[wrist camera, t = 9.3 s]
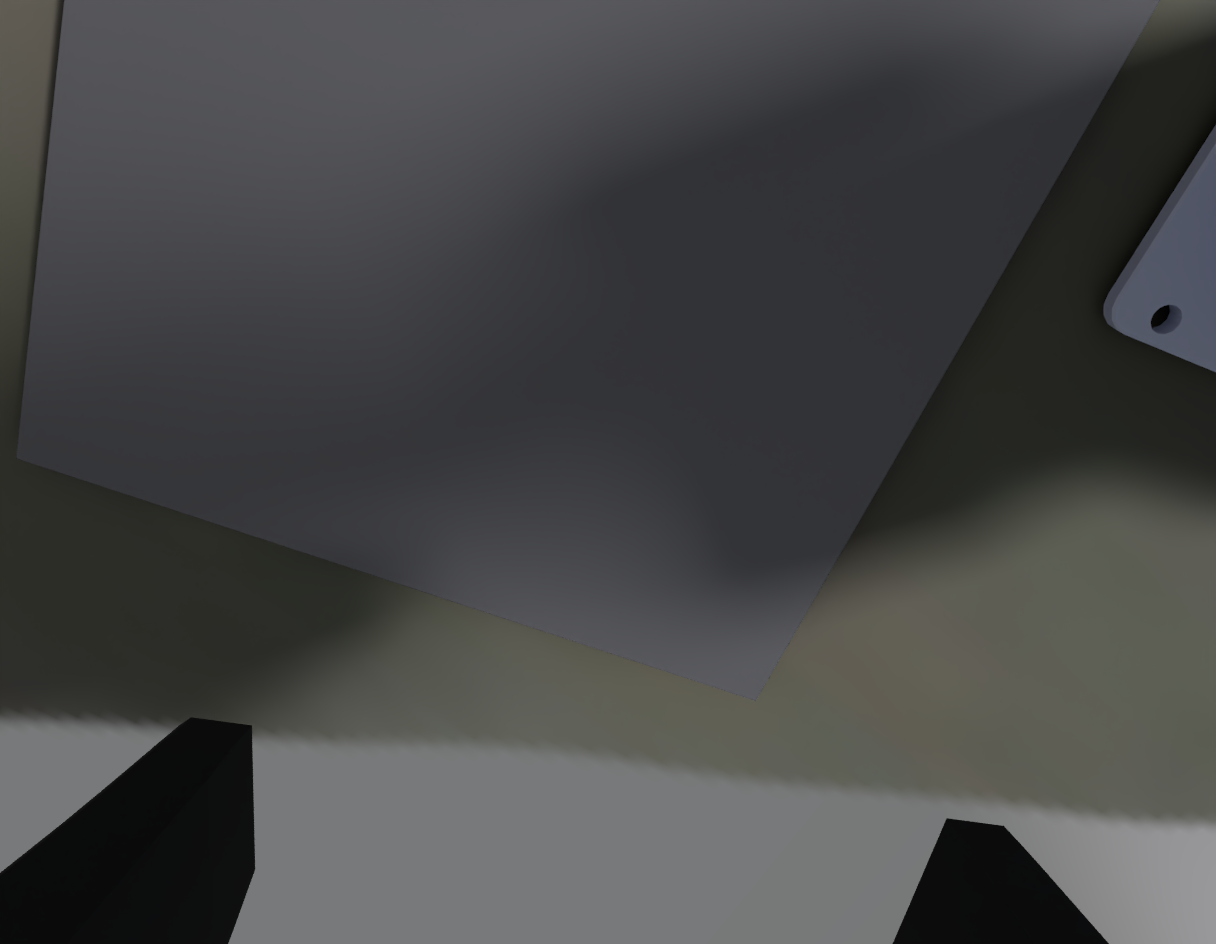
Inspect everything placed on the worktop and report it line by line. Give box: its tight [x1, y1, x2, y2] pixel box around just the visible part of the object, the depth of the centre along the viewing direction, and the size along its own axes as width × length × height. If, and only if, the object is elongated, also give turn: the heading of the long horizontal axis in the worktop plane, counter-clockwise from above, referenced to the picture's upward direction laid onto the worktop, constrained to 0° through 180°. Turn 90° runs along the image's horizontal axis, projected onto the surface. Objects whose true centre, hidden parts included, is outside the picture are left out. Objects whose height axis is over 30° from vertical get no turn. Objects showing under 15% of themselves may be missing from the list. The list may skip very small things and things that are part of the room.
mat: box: [16, 0, 1160, 701], centre depth 16 cm, size 16×16×1 cm
